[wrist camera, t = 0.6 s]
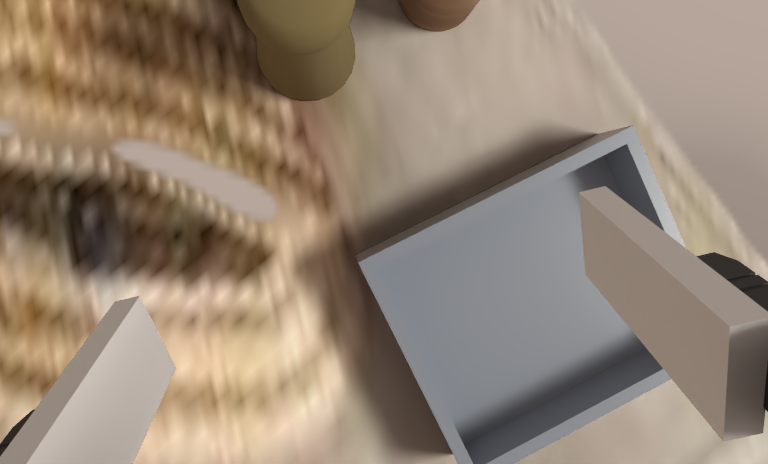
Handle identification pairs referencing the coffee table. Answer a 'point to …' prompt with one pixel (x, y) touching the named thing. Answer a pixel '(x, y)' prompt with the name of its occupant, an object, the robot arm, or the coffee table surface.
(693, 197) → the coffee table surface
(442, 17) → the walnut cylinder
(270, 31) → the cork
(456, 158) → the coffee table surface
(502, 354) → the tote
